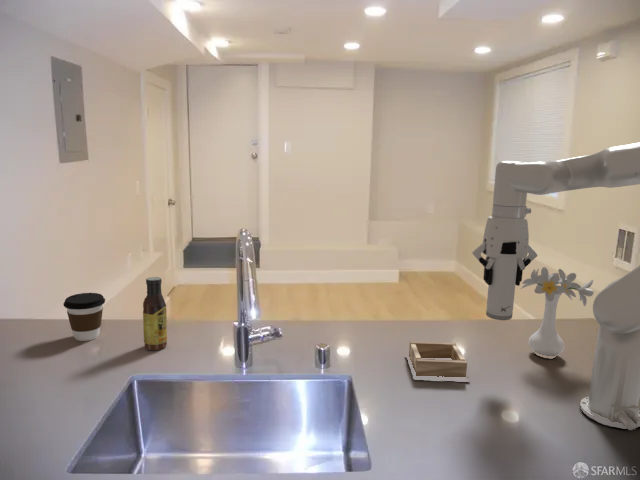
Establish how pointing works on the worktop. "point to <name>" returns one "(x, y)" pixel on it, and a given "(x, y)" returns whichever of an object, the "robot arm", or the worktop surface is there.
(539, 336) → the flower vase
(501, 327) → the worktop surface
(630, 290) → the robot arm
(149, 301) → the sauce bottle
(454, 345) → the wooden square tray
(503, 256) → the travel mug
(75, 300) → the coffee cup
